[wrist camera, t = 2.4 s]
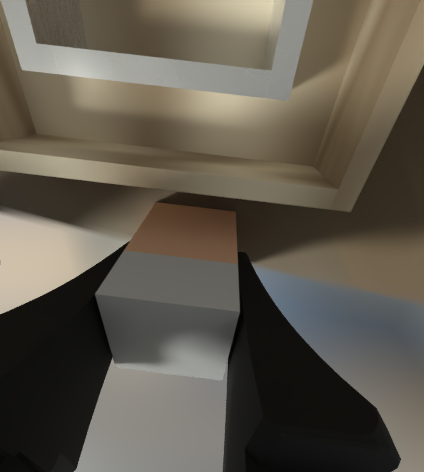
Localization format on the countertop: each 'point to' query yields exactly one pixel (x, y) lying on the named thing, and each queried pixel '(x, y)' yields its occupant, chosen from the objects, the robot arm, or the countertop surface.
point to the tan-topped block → (174, 293)
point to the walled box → (219, 102)
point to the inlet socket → (153, 68)
